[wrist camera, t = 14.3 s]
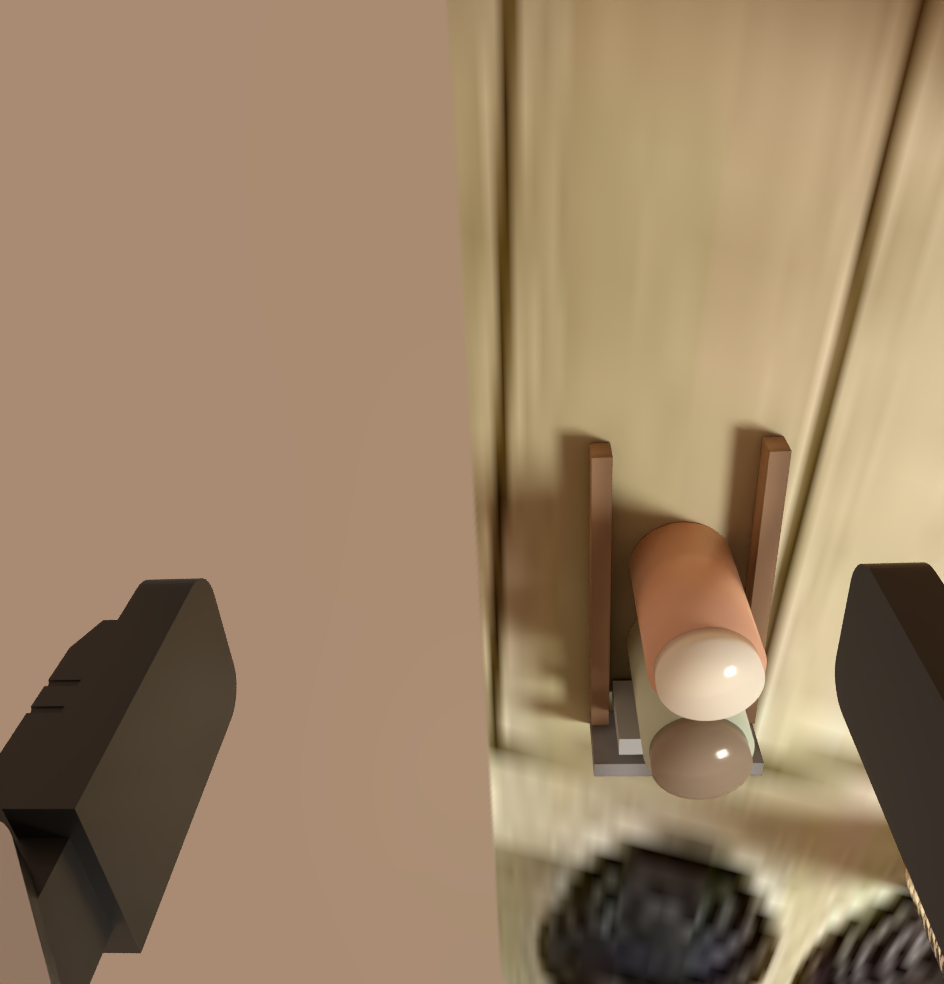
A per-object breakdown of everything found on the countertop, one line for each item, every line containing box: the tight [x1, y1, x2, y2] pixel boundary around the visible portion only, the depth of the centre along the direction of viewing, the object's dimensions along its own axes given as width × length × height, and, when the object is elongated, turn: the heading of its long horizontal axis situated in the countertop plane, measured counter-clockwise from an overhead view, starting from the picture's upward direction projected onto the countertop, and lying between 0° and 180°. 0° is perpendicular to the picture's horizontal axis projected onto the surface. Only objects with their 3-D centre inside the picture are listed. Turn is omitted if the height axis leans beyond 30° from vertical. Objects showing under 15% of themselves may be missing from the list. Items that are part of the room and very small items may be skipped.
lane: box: [590, 436, 791, 776], centre depth 47 cm, size 9×20×4 cm, turn 4°
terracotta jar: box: [630, 522, 767, 721], centre depth 43 cm, size 5×5×9 cm
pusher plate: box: [612, 681, 643, 755], centre depth 50 cm, size 7×1×4 cm, turn 94°
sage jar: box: [627, 620, 755, 799], centre depth 46 cm, size 5×5×9 cm
